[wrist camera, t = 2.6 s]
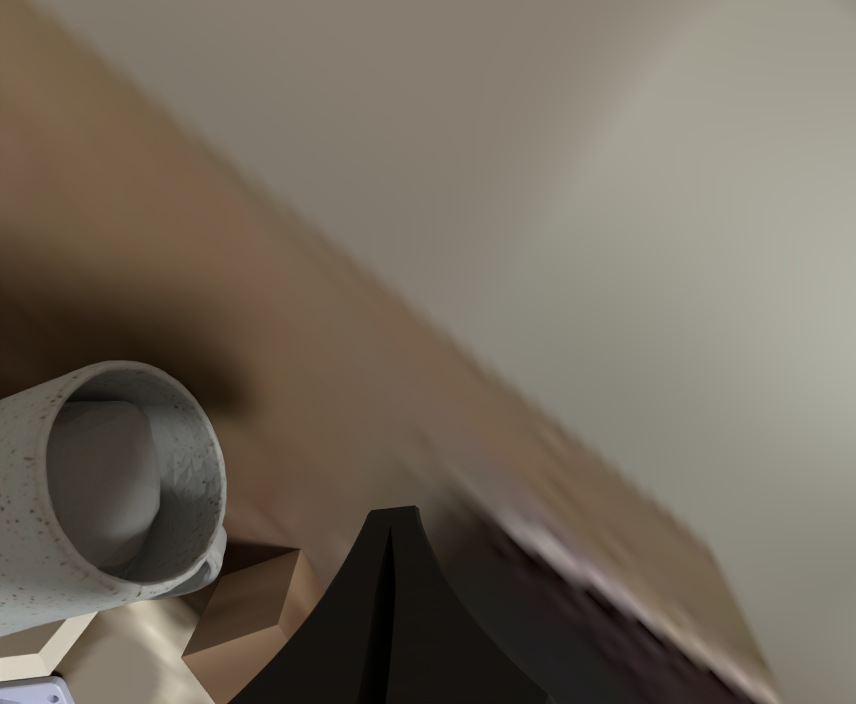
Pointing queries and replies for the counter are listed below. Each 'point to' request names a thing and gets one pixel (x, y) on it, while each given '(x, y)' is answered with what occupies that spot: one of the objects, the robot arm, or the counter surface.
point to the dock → (39, 647)
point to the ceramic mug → (106, 494)
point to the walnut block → (250, 622)
